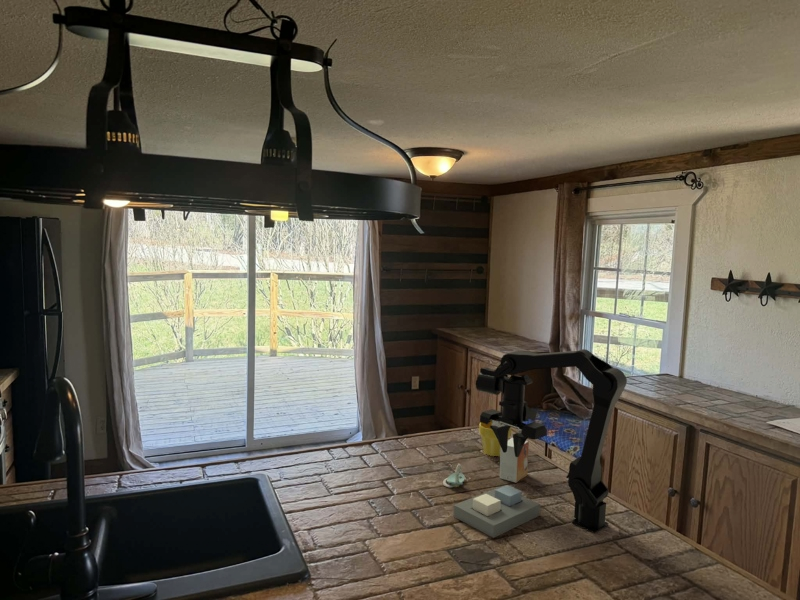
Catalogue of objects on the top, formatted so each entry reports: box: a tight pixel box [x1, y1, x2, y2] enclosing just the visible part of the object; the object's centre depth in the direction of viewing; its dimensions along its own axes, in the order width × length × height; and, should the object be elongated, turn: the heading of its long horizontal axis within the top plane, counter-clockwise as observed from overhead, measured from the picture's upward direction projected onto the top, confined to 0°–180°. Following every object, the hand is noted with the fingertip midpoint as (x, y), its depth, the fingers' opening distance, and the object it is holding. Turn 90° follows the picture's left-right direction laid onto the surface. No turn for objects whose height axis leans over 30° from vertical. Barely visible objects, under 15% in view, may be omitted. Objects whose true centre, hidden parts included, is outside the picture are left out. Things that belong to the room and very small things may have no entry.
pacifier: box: [442, 463, 466, 488], centre depth 158 cm, size 7×6×6 cm
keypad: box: [453, 486, 541, 539], centre depth 139 cm, size 13×18×3 cm
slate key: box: [495, 484, 523, 506], centre depth 142 cm, size 5×5×3 cm
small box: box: [498, 436, 530, 483], centre depth 164 cm, size 8×6×10 cm
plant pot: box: [478, 421, 512, 457], centre depth 182 cm, size 10×10×10 cm
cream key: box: [473, 494, 501, 516], centre depth 136 cm, size 5×5×3 cm
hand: (510, 454), depth 149 cm, fingers open, 4 cm apart
